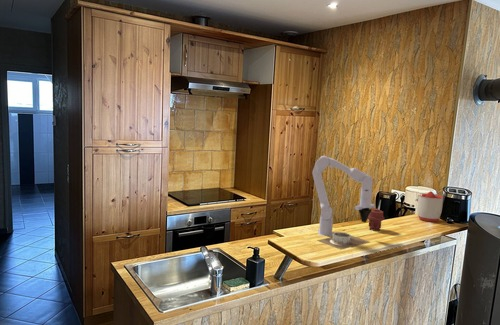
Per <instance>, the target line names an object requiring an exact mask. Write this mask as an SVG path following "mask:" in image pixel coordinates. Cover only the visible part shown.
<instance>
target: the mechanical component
mask: <svg viewBox="0 0 500 325" xmlns="http://www.w3.org/2000/svg"><path fill="white" fill-rule="evenodd" d="M370 209H371V212H370V214H369V216H368V218H367V220H368V227H369V230H371V231H380V230H381V229H382V221H384V220H385V216H384V211H382V210H380V209H379V208H370Z"/></svg>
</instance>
